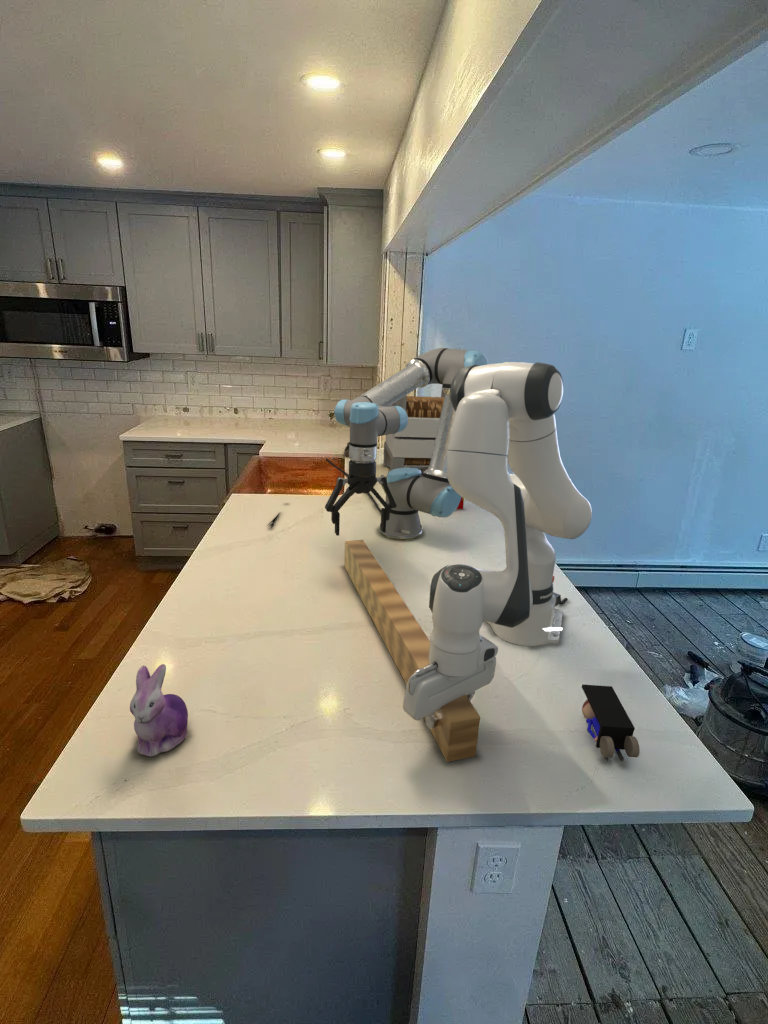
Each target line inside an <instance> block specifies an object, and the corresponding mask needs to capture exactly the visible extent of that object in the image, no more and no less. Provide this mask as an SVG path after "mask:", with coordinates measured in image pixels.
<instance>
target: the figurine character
mask: <svg viewBox="0 0 768 1024" xmlns="http://www.w3.org/2000/svg"><path fill="white" fill-rule="evenodd" d="M581 688H582V691H583V693H584V695H585V697H586V700H585V701H584V702H583V704H582V707H581V713H582V715H583V717H584V718H585V721H586V723H587V732H588V734H589V735H590V736H591V738H592V739H593V741H594V742H595V748H596V749H599V751H600V754H601V755H602V757H603V760H605V761H606V762H609V759H613V758H614V756H615V752H616V755H617V757H618V760H619V761H620V762H624V761H625V757H624V754H623V753H622V751H624V752H625V754H626V756H627V757H628V758H639V756H640V754H641V753H640V752H641V748H640V743H639V740H638V738H637V737H636V736H634V733H635V730H636V728H635V726H634V724H633V722H632V720H631V718H630V717H629V715H628V713H627V711H626V708H625V707H624V706H623V703H622V702H621V700H620V698H619V696H618V695H617V692H616V691H615V689H614V687H613V686H611V685H598V684H581ZM592 728H593V730H594V731H593V730H592ZM621 750H622V751H621Z"/></svg>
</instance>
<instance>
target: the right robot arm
mask: <svg viewBox="0 0 768 1024" xmlns="http://www.w3.org/2000/svg"><path fill="white" fill-rule="evenodd" d="M563 396H564V380H563V376H562V374H561V372H560V371H559V369H557V367H556V366H555V365H554V364H550V363H546V362H540V361H537V362H534V363H533V362H522V361H504V362H500V363H488V365H481V366H479V365H472V366H468V367H465V368H462V369H460V370H459V371H458V373H457V374H456V375H455V377H454V378H453V380H452V383H451V388H450V399H451V403H452V406H453V408H454V410H455V412H456V413H455V416H454V420H453V423H452V428H451V433H450V438H449V445H448V450H450V451H448V453H447V478H448V481H449V483H450V485H451V487H452V488H453V489H454V490H455V492H456V493H458V494H459V495H460V496H461V497H463V498H464V500H466V501H468V502H470V503H471V504H474V505H475V506H477V507H478V508H481V509H483V510H485V511H487V512H489V513H491V515H493V516H495V517H496V518H497V519H498V521H499V522H500V523H501V525H502V528H503V532H504V534H503V535H504V547H505V564H506V567H505V569H503V570H493V569H485V568H477V567H473V566H470V565H467V564H460V563H459V564H448V565H445V566H443V567H441V568H440V569H439V570H438V571H436V573H434V574H433V576H432V578H431V581H430V588H429V603H428V608H429V610H430V611H431V619H432V624H433V627H432V630H431V632H430V637H429V640H430V648H429V663H430V664H429V665H427V666H425V667H424V668H420V669H418V670H416V671H415V674H413V675H412V676H411V677H410V678H409V680H408V682H407V685H405V690H404V696H403V701H402V709H403V711H404V712H405V713H406V714H407V715H408V716H409V717H410V718H412V719H413V720H414V721H420V720H423V719H424V717H426V721H425V722H424V723H425V726H426V727H427V728H428V729H429V728H430V729H433V728H434V727H436V726H437V725H438V724H437V723H438V719H437V718H436V717H434V714H435V712H436V711H437V710H439V709H441V708H442V706H444V705H446V704H448V703H450V702H451V701H453V700H455V699H457V698H459V697H461V696H463V695H466V696H467V698H468V699H469V701H470V702H471V701H472V699H473V697H474V696H475V694H476V691H477V690H479V689H481V688H483V687H486V686H487V685H489V684H490V683H491V682H492V681H493V679H494V677H495V673H496V668H497V667H496V666H497V657H496V656H497V655H498V653H499V646H497V644H495V643H493V641H491V640H489V639H487V638H486V637H485V636H483V635H481V634H480V630H481V628H482V626H483V623H485V622H486V623H487V624H488V625H489V626H491V629H492V631H493V632H494V634H495V635H496V636H497V637H498V638H500V639H502V640H503V641H506V642H508V643H511V644H514V645H518V646H525V647H536V646H542V645H546V644H549V645H551V644H552V645H555V644H559V642H560V638H561V637H560V636H561V632H562V631H563V627H562V623H563V612H562V611H560V610H559V609H556V607H557V606H559V605H560V606H561V605H563V604H565V603H566V602H567V601H568V600H569V599H568V597H564V598H563V599H562V597H561V594H559V593H558V592H554V581H555V575H554V572H555V564H556V559H557V558H556V556H557V555H556V550H555V549H554V547H553V545H552V544H551V542H549V540H548V539H547V536H546V535H548V536H551V537H555V538H560V539H566V540H576V539H577V538H579V537H581V536H582V535H583V534H584V533H585V532H586V531H587V530H588V529H589V527H590V525H591V522H592V520H593V518H592V517H593V509H592V505H591V503H590V501H589V500H588V499H587V498H586V497H585V496H583V495H582V494H581V492H580V491H579V490H578V488H577V487H576V485H574V483H573V481H572V479H571V478H570V476H569V474H568V472H567V470H566V468H565V466H564V463H563V461H562V458H561V453H560V447H559V439H558V430H557V423H556V421H557V420H556V415H555V413H556V412H557V411H558V410H559V409H560V407H561V405H562V401H563ZM509 468H510V469H509ZM509 470H511V471H512V473H510V472H509ZM430 729H429V730H430Z"/></svg>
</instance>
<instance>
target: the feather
mask: <svg viewBox="0 0 768 1024" xmlns="http://www.w3.org/2000/svg"><path fill="white" fill-rule="evenodd" d="M280 514H281V512H279V513H278V514H276V516H275V517H274V518H273V519H272V520H271V521H270V522H269V523H267V526H269V525H270V529H272V528H273V526H274V525H275V522H276V521H277V519H278V517H279V515H280ZM267 526H266V527H267Z"/></svg>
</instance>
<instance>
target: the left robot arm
mask: <svg viewBox="0 0 768 1024" xmlns="http://www.w3.org/2000/svg"><path fill="white" fill-rule="evenodd" d="M488 364H489V361H488V358H487V356H486V355H485V354H484V353H483V352H481V351H477V350H472V349H461V348H460V349H459V348H449V347H438V348H435V349H434V348H433V349H431V350H430V349H429V350H428V351H426V352H423V353H421V354H419V355H417V356H415V357H414V358H412V359H411V360H409V361H408V362H407V363H406V365H405V367H404V368H402V369H400V370H399V371H397V372H396V373H394V374H393V375H391V376H389V377H388V378H386V379H384V380H383V381H382V382H380V383H378V384H376V385H375V386H373V387H372V388H370V389H368V390H367V391H365V392H363V393H362V394H360V395H359V396H357V397H356V398H354V399H341V400H339V401H338V402H337V403H336V405H335V407H334V411H333V412H334V418H335V421H336V422H337V423H338V424H340V425H342V426H346V427H349V442H350V444H349V457H348V459H349V461H348V473H347V472H346V471H344V470H343V469H342V468H340V467H338V466H337V465H336V464H334V463H333V462H331V460H329V459H328V458H325V461H326V462H327V463H328V464H329V465H331V466H333V468H335V469H337V470H338V471H340V472H341V473H342V474H344V475H345V476H347V478H344V477H341V476H338V477H337V478H336V485H335V486H334V488H333V490H332V492H331V494H330V496H329V497H328V500H327V501H326V504H325V505H324V509H325V510H326V512H327V513H331V518H330V520H331V523H332V524H333V525H334V534H335V536H336V537H339V536H340V526H341V525H340V522H341V520H340V519H341V514H340V512H339V511H340V510H341V509H342V508H343V506H344V505H345V504H346V503H347V502H348V500H349V499H350V498H351V497H352V496H354V494H357V495H360V494H366V495H368V496H369V498H370V499H371V501H372V502H373V503H374V507H376V510H378V512H379V513H380V522H379V527H378V533H379V534H380V535H381V536H382V537H385V538H387V539H389V540H395V541H410V540H415V539H418V538H420V537H421V536H422V535H423V525H422V524H421V518H420V515H419V512H420V513H421V512H422V513H425V514H428V515H430V516H432V517H438V518H443V519H444V518H448V517H450V516H451V515H453V513H454V512H456V510H458V509H457V507H458V505H459V503H460V500H461V496H460V495H459V494H458V493H456V492H455V490H454V489H453V488H452V487H451V485H450V483H449V481H448V478H447V453H448V451H450V450H448V445H449V438H450V433H451V428H452V423H453V420H454V416H455V413H456V412H455V410H454V408H453V406H452V403H451V399H450V388H451V383H452V380H453V378H454V377H455V375H456V374H457V373H458V371H459V370H460V369H462V368H465V367H468V366H472V365H479V366H481V365H488ZM435 384H436V385H442V386H441V392H442V391H443V392H444V394H445V398H444V402H443V407H442V411H441V416H440V420H439V425H438V429H437V434H436V438H435V443H434V447H433V452H432V456H431V461H430V466H429V465H428V468H426V469H425V470H423V472H422V470H421V469H420V468H416V467H404V468H398V469H394V470H391V471H390V470H388V472H387V475H386V476H385V475H384V474H381V475H380V476H377V461H376V460H377V453H378V437H382V436H386V435H389V434H396V433H398V432H401V431H403V430H404V429H405V428H406V426H407V423H408V416H407V413H406V411H405V410H404V409H403V408H402V407H399V406H391V405H392V404H394V403H395V402H397V401H398V400H400V399H401V398H403V397H404V396H406V395H407V396H408V395H409V394H410V393H412V392H414V391H415V390H416V389H418V388H421V389H422V388H425V387H427V386H428V385H435ZM389 406H390V407H389ZM377 483H378V484H379V485H380V486H381V487H382V490H383V492H384V494H385V499H384V498H383V497H382V495H381V494H380V493H379V492H378V491H377V490H376V489H375V486H376V485H377ZM346 484H347V485H348V486H347V488H346V490H345V491H344V492H343V494H342V495H340V493H341V491H342V490H343V487H345V485H346ZM370 492H371V493H372V494H373V495H374V497H375V498H376V499H377V500H378V502H380V504H381V505H382V506H383V507H381V508H380V506H379V505H378V502H376V500H375V498H374V497H373V496H372V494H371V493H370ZM339 495H340V497H339ZM338 497H339V498H338Z"/></svg>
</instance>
